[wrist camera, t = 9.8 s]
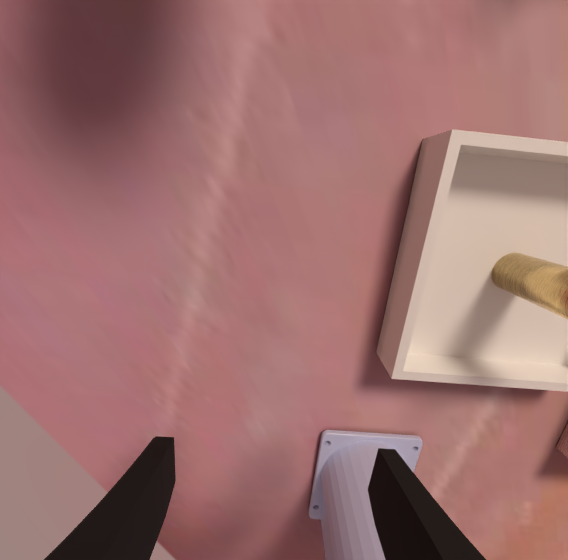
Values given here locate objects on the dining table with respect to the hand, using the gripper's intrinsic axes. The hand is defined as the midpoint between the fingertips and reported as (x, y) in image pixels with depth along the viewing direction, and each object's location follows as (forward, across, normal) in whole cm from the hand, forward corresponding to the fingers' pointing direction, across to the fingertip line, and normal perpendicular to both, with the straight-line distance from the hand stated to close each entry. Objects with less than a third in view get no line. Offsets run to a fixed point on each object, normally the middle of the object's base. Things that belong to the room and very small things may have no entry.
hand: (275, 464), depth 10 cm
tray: (+10, -14, -6) cm, 18 cm away
